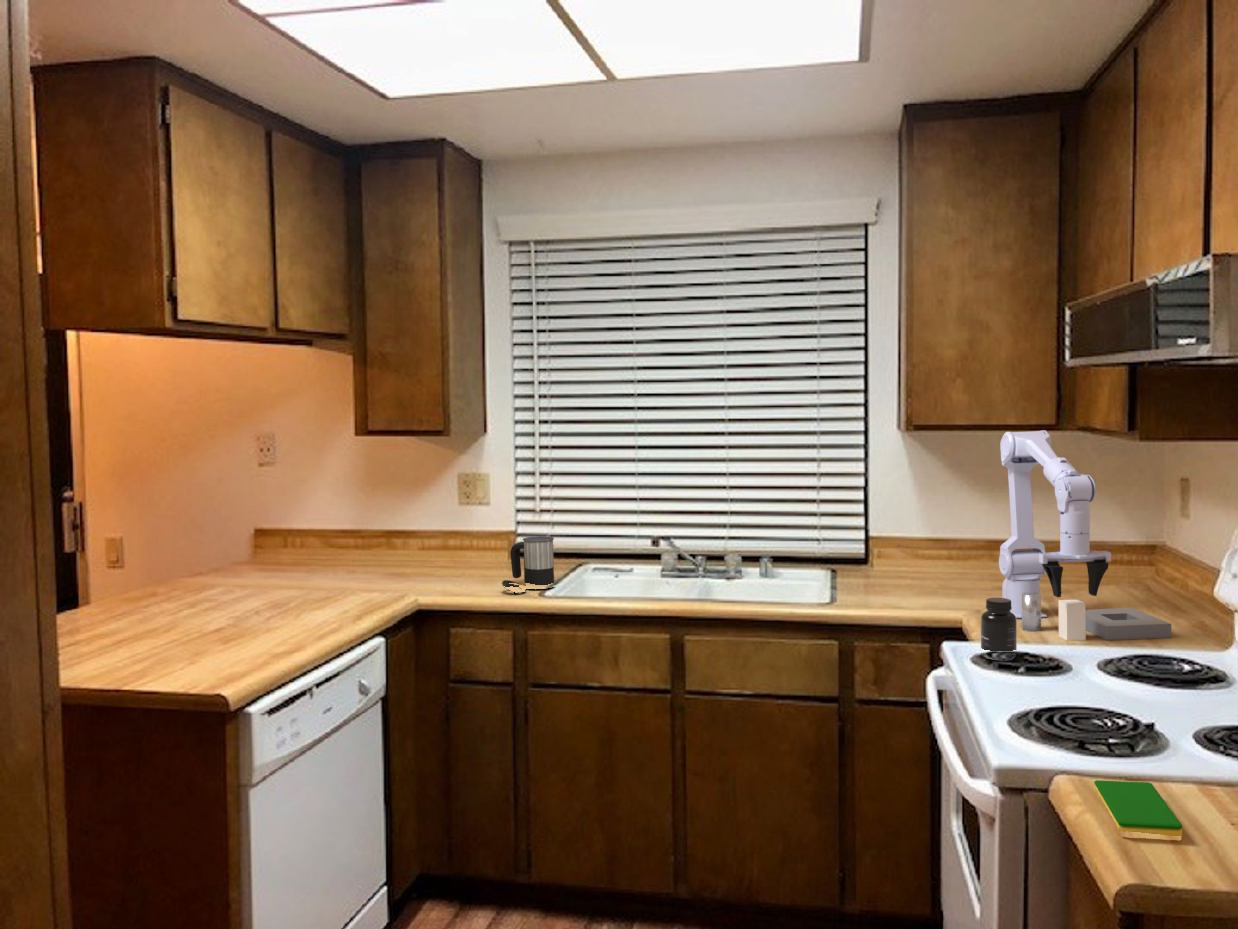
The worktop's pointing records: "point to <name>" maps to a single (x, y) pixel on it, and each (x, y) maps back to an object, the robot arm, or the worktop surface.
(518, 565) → the milk frother
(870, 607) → the worktop surface
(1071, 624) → the square peg
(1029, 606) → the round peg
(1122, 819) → the dish sponge
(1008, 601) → the supplement bottle
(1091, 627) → the socket plate
